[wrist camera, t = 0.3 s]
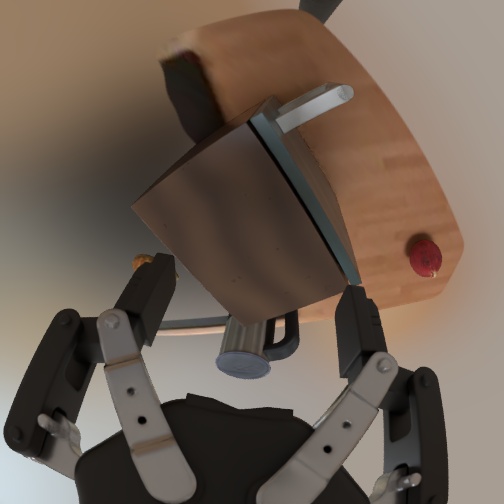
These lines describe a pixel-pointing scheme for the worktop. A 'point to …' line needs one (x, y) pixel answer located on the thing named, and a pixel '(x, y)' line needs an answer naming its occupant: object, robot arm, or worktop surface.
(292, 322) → the milk frother
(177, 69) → the worktop surface
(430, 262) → the onion
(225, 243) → the cupboard
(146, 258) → the pastry
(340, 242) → the door
